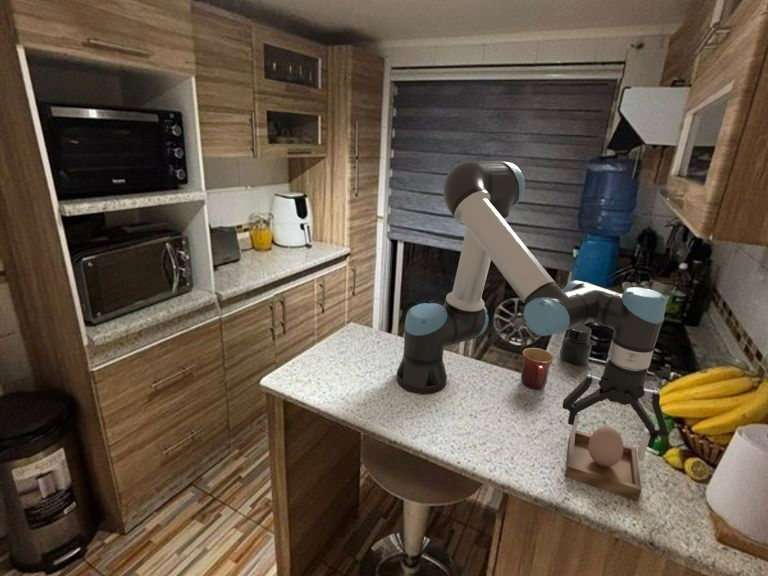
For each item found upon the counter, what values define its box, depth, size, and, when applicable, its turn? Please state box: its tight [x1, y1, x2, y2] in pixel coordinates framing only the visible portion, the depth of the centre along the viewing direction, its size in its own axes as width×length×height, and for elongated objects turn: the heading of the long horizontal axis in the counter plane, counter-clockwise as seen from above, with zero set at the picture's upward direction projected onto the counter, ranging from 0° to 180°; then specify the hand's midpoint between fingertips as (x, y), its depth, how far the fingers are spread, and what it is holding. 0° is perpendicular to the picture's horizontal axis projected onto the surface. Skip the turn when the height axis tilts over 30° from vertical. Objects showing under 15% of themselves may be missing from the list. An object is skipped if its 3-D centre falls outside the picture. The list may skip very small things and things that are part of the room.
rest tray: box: [564, 430, 642, 502], centre depth 94 cm, size 14×14×3 cm
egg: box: [588, 425, 624, 467], centre depth 93 cm, size 7×7×10 cm
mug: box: [520, 347, 555, 391], centre depth 123 cm, size 12×9×10 cm
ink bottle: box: [559, 324, 592, 367], centre depth 140 cm, size 10×9×12 cm
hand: (605, 446), depth 93 cm, fingers open, 13 cm apart
